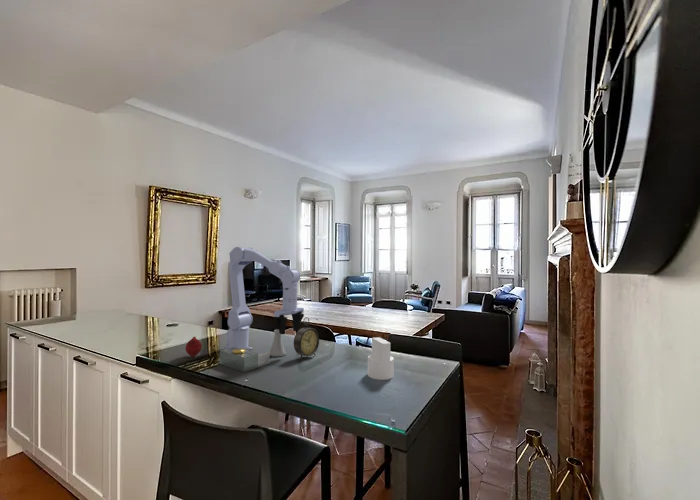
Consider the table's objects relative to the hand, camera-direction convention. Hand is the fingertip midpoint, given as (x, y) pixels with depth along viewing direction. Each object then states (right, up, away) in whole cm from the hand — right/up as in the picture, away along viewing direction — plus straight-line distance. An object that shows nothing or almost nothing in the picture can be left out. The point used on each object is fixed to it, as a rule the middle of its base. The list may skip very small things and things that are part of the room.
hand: (288, 332), depth 138 cm
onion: (-37, -9, -3) cm, 38 cm away
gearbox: (-14, -9, -11) cm, 20 cm away
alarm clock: (+7, -10, -1) cm, 12 cm away
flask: (-5, -10, +2) cm, 11 cm away
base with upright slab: (+35, -10, -20) cm, 42 cm away
